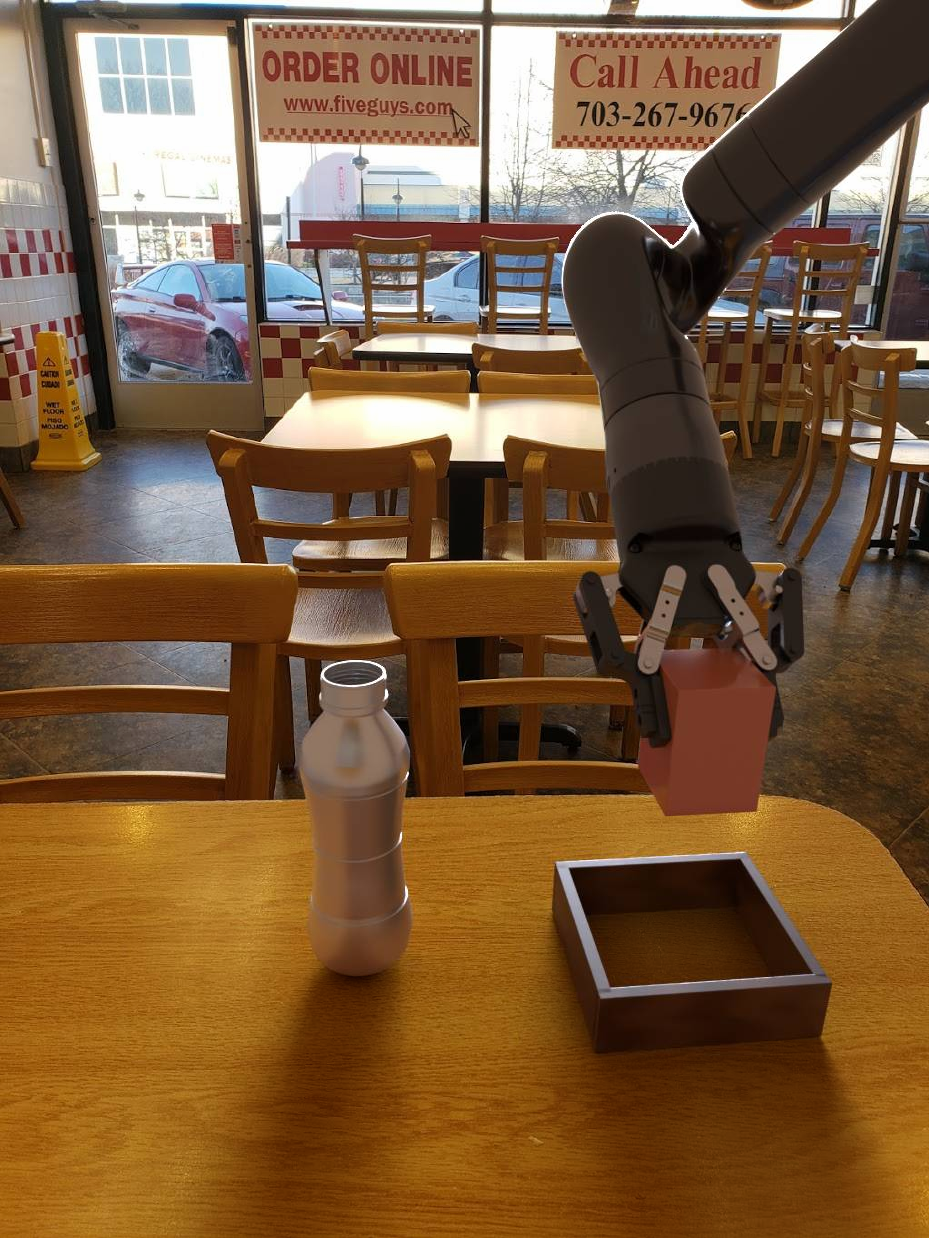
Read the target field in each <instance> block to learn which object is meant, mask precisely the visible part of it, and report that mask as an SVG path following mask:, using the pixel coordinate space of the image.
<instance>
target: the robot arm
mask: <svg viewBox="0 0 929 1238" xmlns="http://www.w3.org/2000/svg"><path fill="white" fill-rule="evenodd" d="M928 104H929V0H875V1H874V2H873V3H872V4H870V6H868V7H867V8H866V9H865V10H864V11H863V12H862V13H860V15H859V16H858V17H856V18H855V19H854V20H853V21H852V22H851V23H849V25H847V26H846V27H845V28H844V29H843V30H842V31H840V32H839V33H838V34H837V35H836V36H835V37H833V38H832V39H831V40H830V41H829V42H828V43H826V44H825V45H824V46H823V47H822V48H820V50H819V51H817V52H816V53H815V54H814V55H812V56H811V57H810V58H808V60H806V62H804V63H803V64H801V66H800V67H798V68H797V69H796V70H795V71H793V73H791V75H789V76H788V77H787V78H786V79H785V80H783V81H782V82H781V83H780V84H779V85H778V86H777V87H776V88H774V89H773V90H772V91H771V92H769V94H767V95H766V96H765V97H764V98H763V99H761V100H760V101H759V102H758V103H757V104H756V105H755V106H754V107H752V108H751V109H750V110H749V111H748V112H747V113H746V114H744V115H743V117H741V118H740V119H739V120H738V121H736V123H734V124H733V125H732V126H731V127H730V128H729V129H728V130H727V131H726V132H725V133H724V134H722V135H721V137H719V138H717V140H716V141H715V142H713V143H712V144H713V145H710V146H709V147H708V148H707V149H706V150H705V151H704V152H702V153H701V154H700V155H699V156H698V157H697V158H696V159H695V160H694V161H693V162H692V164H691V165H690V166H689V167H688V168H687V169H686V170H685V172H684V174H683V176H682V177H681V181H680V186H679V187H680V190H679V191H680V196H681V197H680V198H681V200H682V203H683V205H684V208H685V210H686V211H687V214H688V216H689V217H690V219H691V221H692V222H691V223H690V225H689V226H688V227H687V230H686V231H685V232H684V234H683V236H682V237H681V238H680V239H679V241H677V242H676V243H675V244H674V245H672V244H670V243H669V242H668V241H667V240H666V239H665V238H663V237H662V236H661V235H659V234H658V233H657V232H656V231H655V230H654V229H652V228H651V227H650V226H649V225H647V224H646V223H645V222H644V221H643V220H641V219H640V218H637V217H635V216H634V215H631V214H629V213H624V212H619V211H618V212H617V211H615V212H613V211H612V212H606V213H602V214H600V215H597V216H595V217H593V218H591V219H590V220H588V221H587V222H586V223H584V225H582V226H581V228H580V229H579V230H578V231H577V232H576V234H575V235H574V237H573V238H572V239H571V241H570V243H569V246H568V248H567V250H566V252H565V256H564V260H563V265H562V271H561V272H562V273H561V289H562V295H563V301H564V305H565V309H566V312H567V315H568V318H569V321H570V323H571V326H572V328H573V331H574V333H575V335H576V338H577V340H578V344H579V346H580V348H581V350H582V353H583V356H584V358H585V360H586V363H587V364H588V366H589V368H590V370H591V373H592V374H593V377H594V379H595V381H596V383H597V389H598V399H599V405H600V413H601V420H602V426H603V427H602V428H603V432H604V465H605V474H606V478H605V486H606V491H607V492H608V494H609V501H610V507H611V514H612V521H613V526H614V533H615V541H616V546H617V554H618V559H619V568H618V570H617V572H616V573H611V574H606V575H601V576H600V574H599V573H597V572H595V571H592V570H590V571H586V572H584V573H583V574H582V575H581V577H580V579H579V582H578V583H577V585H576V588H575V590H574V592H573V594H572V599H573V602H574V605H575V608H576V611H577V614H578V617H579V620H580V623H581V627H582V629H583V634H584V636H585V639H586V643H587V645H588V647H589V648H588V649H589V651H590V654H591V657H592V660H593V664H594V666H595V669H596V670H595V671H596V673H597V674H598V675H599V676H600V677H601V678H603V679H612V678H614V679H618V680H622V681H623V682H625V683H626V684H627V685H628V686H629V687H630V690H631V695H632V703H633V710H634V716H635V717H634V718H635V723H636V730H637V732H638V734H639V735H640V738H641V737H642V738H648V739H649V745H650V747H651V748H661V747H664V746H665V745H667V744H668V743H669V742H670V740H671V735H672V733H671V726H670V720H669V713H668V707H667V701H666V694H665V688H664V682H663V676H657V669H658V667H659V663H660V660H661V656H662V653H663V650H665V649H664V648H665V645H666V643H667V640H668V639H679V638H682V637H685V636H693V637H698V638H711V639H713V641H714V643H715V644H716V645H717V647H718V648H739V649H740V651H741V652H742V653H743V654H744V655H745V656H746V657H747V658H748V659H749V660H750V661H751V662H752V663H753V664H754V665H755V666H756V667H757V668H758V669H759V670H760V671H761V672H762V673H763V674H764V676H765V677H766V678H767V679H768V680H769V681H770V682H771V683H772V684H773V685H774V686H775V687H776V691H775V697H774V704H773V710H772V717H771V723H770V730H769V736H768V742H767V744H768V743H770V742H771V741H772V740H774V739H776V737H777V736H778V732H779V729H781V728H782V727H783V725H784V721H785V715H784V710H783V705H782V702H781V696H780V691H779V687H778V682H777V674H782V673H785V672H786V671H787V670H788V669H789V668H790V666H792V665H793V664H795V662H797V661H799V660H800V659H801V658H802V657H803V656H804V654H805V634H804V633H805V630H804V628H805V627H804V603H803V600H804V599H803V576H802V574H801V572H800V571H799V570H798V569H796V568H795V567H787V568H785V569H784V570H782V571H781V573H776V572H769V571H763V570H756V569H755V566H754V565H753V563H752V562H751V561H750V560H749V558H748V557H747V555H746V554H745V552H744V548H743V537H742V536H743V535H742V529H741V528H742V527H741V525H740V520H739V515H738V514H739V513H738V509H737V505H736V501H735V494H734V490H733V487H732V486H733V485H732V480H731V476H730V472H729V467H728V462H727V457H726V452H725V446H724V443H723V439H722V436H721V433H720V430H719V428H718V425H717V423H716V420H715V418H714V414H713V409H712V405H711V404H712V403H711V399H710V395H709V394H710V393H709V390H708V385H707V380H706V376H705V371H704V367H703V362H702V361H701V358H700V355H699V353H698V351H697V349H696V347H695V346H694V344H693V343H692V342H691V340H690V339H689V338H688V337H687V335H688V334H689V333H690V332H691V331H693V330H694V329H695V328H696V327H697V325H699V324H700V322H702V320H703V319H704V318H705V317H706V315H707V314H708V313H709V312H710V310H712V308H713V306H714V305H715V304H716V303H717V302H718V300H719V299H720V298H721V296H722V295H723V294H724V293H725V291H726V290H727V289H728V288H729V286H730V285H731V284H732V283H733V282H734V280H735V279H736V278H737V277H738V275H739V274H740V273H741V271H742V270H743V269H744V267H745V266H746V265H747V263H748V262H749V261H750V259H751V258H752V257H753V256H754V254H755V253H756V252H757V251H758V250H759V248H760V247H762V246H763V245H764V244H765V243H767V242H768V241H769V240H771V239H772V238H774V236H776V234H778V233H780V232H781V231H782V230H784V229H785V228H786V227H787V226H788V225H790V224H791V223H792V222H793V221H795V220H797V218H798V217H800V216H801V215H802V214H804V213H805V212H806V211H807V210H809V209H810V208H811V207H812V206H813V205H815V204H816V203H817V202H819V201H820V200H821V199H822V198H824V197H825V196H826V195H827V194H828V193H830V192H831V191H832V190H833V189H835V188H836V187H837V186H838V185H839V184H840V183H842V182H843V181H844V180H845V179H846V178H847V177H848V176H850V175H852V173H853V172H854V171H856V170H857V169H858V168H859V167H860V166H861V165H862V164H863V163H864V162H865V161H867V160H868V159H869V158H870V157H871V156H872V155H873V154H874V153H875V152H876V151H878V150H879V149H880V148H881V147H882V146H883V145H884V144H886V142H887V141H889V140H890V139H891V137H893V136H894V135H895V134H896V133H897V132H898V131H899V130H900V129H902V128H903V126H905V125H906V124H907V123H908V122H909V121H910V120H911V119H912V118H914V117H915V116H916V115H917V114H918V113H919V112H920V111H922V110H923V109H924V108H925V107H926V106H927V105H928ZM750 591H752V592H754V593H755V594H756V596H757V597H758V601H759V604H760V607H761V609H764V610H766V612H767V613H766V619H767V620H766V621H767V622H766V623H767V625H766V626H767V641H766V640H765V638H764V637H763V635H762V633H761V626H760V623H759V621H758V619H757V618H756V616H755V615H754V613H753V611H751V609H750V607H749V605H748V604H747V603H746V599H747V597H748V595H749V593H750ZM617 594H618V595H619V596H620V597H621V598H622V599H623V600H624V601H625V602H626V603H627V604H628V605H629V607H631V609H632V610H633V611H635V613H636V614H637V615H638V616H639V617H640V618H641V619H642V620H641V624H640V628H639V630H638V634H637V638H636V641H635V644H634V648H633V650H634V651H633V652H630V651H628V650H626V648H625V645H624V642H623V638H622V636H621V633H620V630H619V627H618V625H617V622H616V618H615V615H614V613H613V608H614V607H615V605H616V603H617Z"/></svg>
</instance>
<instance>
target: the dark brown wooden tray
mask: <svg viewBox="0 0 929 1238" xmlns="http://www.w3.org/2000/svg"><path fill="white" fill-rule="evenodd" d="M552 883H553V884H552V897H551V898H552V900H551V912H552V916H553V918H554V919H553V920H554V923H555V925H556V929H557V932H558V935H559V938H560V942H561V945H562V949H563V951H564V952H563V953H564V956H565V958H566V961H567V965H568V968H569V971H570V975H571V978H572V981H573V985H574V988H575V991H576V995H577V998H578V1001H579V1004H580V1008H581V1011H582V1014H583V1017H584V1021H585V1025H586V1027H587V1031H588V1034H589V1037H590V1040H591V1044H592V1047H593V1051H594V1053H595V1054H604V1053H619V1052H633V1051H644V1050H645V1051H646V1050H655V1049H656V1050H658V1049H671V1048H672V1049H673V1048H683V1047H685V1048H686V1047H698V1046H699V1047H700V1046H709V1045H710V1046H713V1045H724V1044H738V1043H751V1042H752V1043H753V1042H764V1041H765V1042H766V1041H777V1040H792V1039H805V1038H813V1037H814V1038H817V1037H822V1036H823V1035H822V1034H823V1030H824V1025H825V1021H826V1016H827V1011H828V1006H829V1001H830V997H831V991H832V987H833V981H832V980H831V979H830V977H829V976H828V974H827V973H826V971H825V970H824V969H823V966H822V965H821V964H820V962H819V961H818V959H817V958H816V957H815V954H814V953H813V951H812V950H811V949H810V947H809V945H808V944H807V942H806V941H805V939H804V938H803V936H802V934H801V933H800V932H799V930H798V929H797V927H796V925H795V923H794V922H793V921H792V920H791V919H792V918H790V916H789V914H788V913H787V912H786V910H785V908H784V907H783V906H782V904H781V902H780V901H779V899H778V897H777V896H776V895H775V893H774V892H773V891H772V889H771V887H770V886H769V884H768V883H767V881H766V880H765V878H764V876H763V875H762V873H761V872H760V871H759V869H758V867H757V866H756V864H755V863H754V860H753V859H752V858H751V856H750V854H749V853H748V852H747V851H741V852H740V851H739V852H726V853H725V852H724V853H723V852H721V853H703V854H701V853H700V854H685V855H666V856H649V857H648V856H647V857H645V856H644V857H627V858H608V859H607V858H605V859H587V860H568V861H555V862H554V870H553V882H552ZM725 907H733V908H734V910H735V912H736V914H737V916H738V917H739V919H740V921H741V922H742V924H743V926H744V928H745V930H746V931H747V933H748V935H749V936H750V938H751V939H752V941H753V943H754V945H755V947H756V949H757V950H758V951H759V953H760V956H761V957H762V959H763V960H764V962H765V964H766V966H767V967H768V969H769V971H770V972H771V974H772V976H769V977H754V978H753V977H752V978H740V979H739V978H737V979H724V980H708V981H696V982H695V981H694V982H681V983H678V982H677V983H666V984H665V983H664V984H651V985H650V984H649V985H635V986H633V985H632V986H620V987H611V985H610V982H609V980H608V977H607V974H606V971H605V967H604V966H603V963H602V960H601V957H600V954H599V950H598V948H597V944H596V943H595V939H594V936H593V934H592V931H591V928H590V925H589V923H588V920H587V916H588V915H590V916H591V915H606V914H607V915H608V914H623V913H624V914H625V913H636V912H637V913H639V912H657V911H673V910H674V911H675V910H690V909H691V910H692V909H708V908H725Z"/></svg>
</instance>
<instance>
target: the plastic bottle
mask: <svg viewBox="0 0 929 1238" xmlns="http://www.w3.org/2000/svg"><path fill="white" fill-rule="evenodd" d="M386 672H387V671H386V668H385V667H383V666H382V665H380V664H378V663H376V662H372V661H367V660H345V661H339V662H336V663H332V664H330V665H328V666H327V667H325V668H324V669H322V671H321V674H320V693H319V696H318V701H319V702H318V703H319V707H320V708H321V709H322V710H323V711H322V713H320V715H319V716H318V717H317V719H316V720H315V721H314V722H313V723H312V724H311V727H310V728H309V730H308V731H307V733H306V734H305V736H304V737H303V738H302V740H301V744H300V748H299V752H298V757H297V763H298V770H299V775H300V779H301V783H302V788H303V792H304V797H305V801H306V807H307V810H308V815H309V826H310V834H311V838H312V840H311V843H312V850H313V863H312V864H313V865H312V884H311V885H312V887H311V895H310V899H309V904H308V913H307V921H306V929H307V935H308V939H309V942H310V946H311V950H312V951H313V953H314V956H315V957H316V958H317V959H318V960H319V962H321V963H322V964H323V965H324V966H325V967H327V968H328V969H329V970H331V971H332V972H335V973H338V974H339V975H344V976H350V977H364V976H369V975H374V974H378V973H380V972H383V971H385V970H386V969H388V968H390V967H391V966H392V965H394V964H395V963H396V962H397V961H398V960H399V959H400V957H402V955H403V954H404V953H405V952H406V950H407V948H408V946H409V943H410V939H411V935H412V934H411V933H412V930H413V924H414V916H413V915H414V914H413V910H412V903H411V899H410V895H409V891H408V888H407V885H406V877H405V875H406V874H405V867H404V866H405V865H404V857H403V850H402V844H403V843H402V841H403V840H402V839H403V836H402V835H403V822H404V821H403V818H404V807H405V806H404V805H405V798H406V792H407V786H408V779H409V770H410V763H411V762H410V761H411V750H410V747H409V744H408V740H407V738H406V736H405V733H404V732H403V730H402V729H401V728H400V726H399V725H398V724H397V723H396V720H394V718H392V716H391V715H390V714H389V713H388V711H386V710H385V709H384V708H385V707H386V706H387V704H388V703H389V693H388V690H387V673H386Z"/></svg>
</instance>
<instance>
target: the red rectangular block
mask: <svg viewBox="0 0 929 1238" xmlns="http://www.w3.org/2000/svg"><path fill="white" fill-rule="evenodd" d="M657 676H663V682H664V688H665V694H666V701H667V707H668V713H669V720H670V726H671V733H672V735H671V740H670V742H669V743H668V744H667V745H665V746H664V747H661V748H651V747H650V745H649V739H648V738H642V737H641V736H640V742H639V752H638V763H637V765H638V766H637V768H638V770H639V772H640V774H641V775H642V777H643V779H644V780H645V782H646V785H647V786H648V788H649V790H650V792H651V794H652V795H653V798H654V799H655V801H656V802H657V804H658V806H659V809H660V810H661V812H662V813H663V815H664V817H679V816H680V817H681V816H682V817H683V816H702V815H719V814H721V815H722V814H736V813H737V814H739V813H740V814H741V813H757V812H758V806H759V800H760V793H761V786H762V781H763V773H764V767H765V761H766V755H767V748H768V743H769V742H768V736H769V730H770V723H771V717H772V710H773V704H774V697H775V691H776V687H775V686H774V685H773V684H772V683H771V682H770V681H769V680H768V679H767V678H766V677H765V676H764V674H763V673H762V672H761V671H760V670H759V669H758V668H757V667H756V666H755V665H754V664H753V663H752V662H751V661H750V660H749V659H748V658H747V657H746V656H745V655H744V654H743V653H742V652H741V651H740V649H739V648H719V647H718V648H717V647H716V648H715V647H714V648H685V649H684V648H683V649H663V653H662V656H661V660H660V663H659V667H658V669H657ZM767 742H768V743H767Z"/></svg>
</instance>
